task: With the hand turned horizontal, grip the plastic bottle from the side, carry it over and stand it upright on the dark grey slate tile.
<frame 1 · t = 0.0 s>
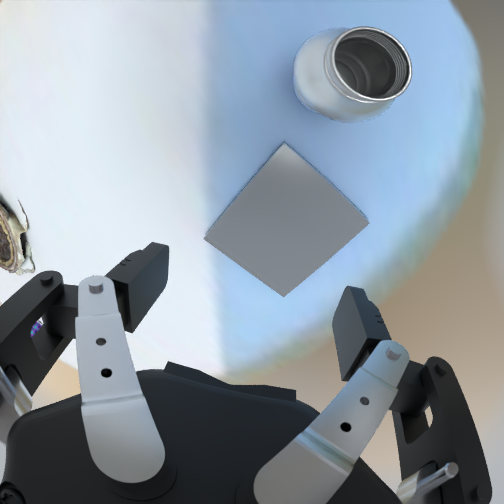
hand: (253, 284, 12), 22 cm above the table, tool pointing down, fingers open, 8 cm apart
plastic bottle: (323, 86, 25), on the table
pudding: (41, 328, 64), on the table
pie: (5, 225, 44), on the table
slate tile: (285, 225, 35), on the table
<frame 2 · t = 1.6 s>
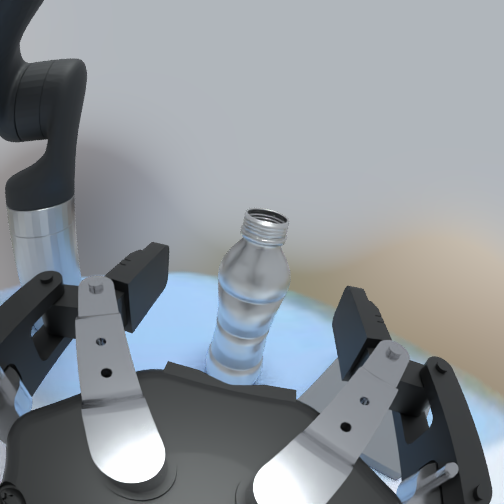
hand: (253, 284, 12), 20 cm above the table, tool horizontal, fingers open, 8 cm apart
plastic bottle: (230, 377, 30), on the table
slate tile: (367, 412, 27), on the table
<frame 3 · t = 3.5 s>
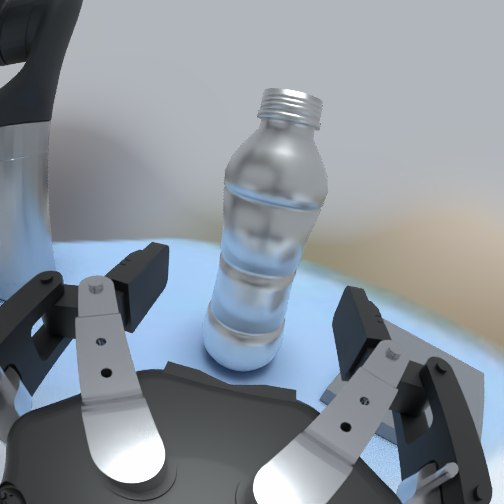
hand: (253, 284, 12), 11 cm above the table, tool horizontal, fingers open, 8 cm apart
plastic bottle: (237, 354, 22), on the table
slate tile: (418, 393, 19), on the table
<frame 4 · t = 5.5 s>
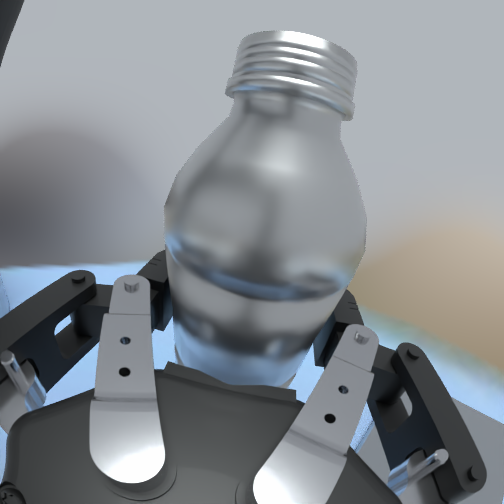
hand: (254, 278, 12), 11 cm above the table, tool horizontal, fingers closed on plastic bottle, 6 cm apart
plastic bottle: (217, 437, 15), on the table, touching gripper
slate tile: (440, 466, 12), on the table
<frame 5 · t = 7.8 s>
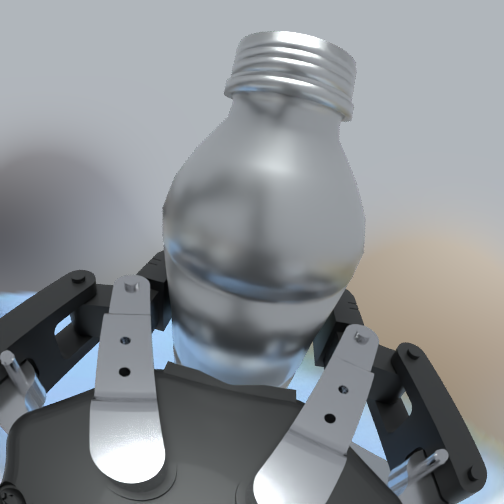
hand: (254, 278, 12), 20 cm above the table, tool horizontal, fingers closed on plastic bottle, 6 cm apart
plastic bottle: (216, 437, 15), point 9 cm above the table, touching gripper
slate tile: (299, 486, 18), on the table
when the fingers open (14 cm above the table, at t = 10.0 s): plastic bottle drops 1 cm, resting on slate tile.
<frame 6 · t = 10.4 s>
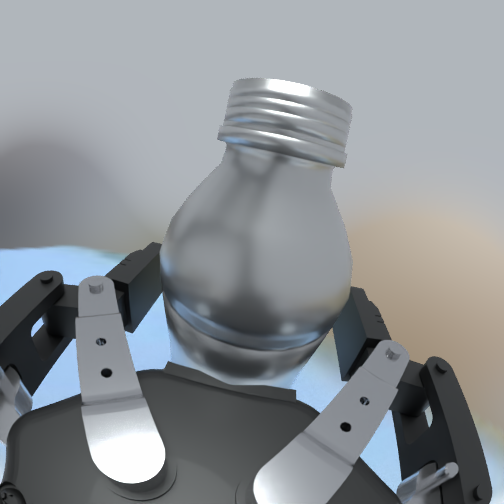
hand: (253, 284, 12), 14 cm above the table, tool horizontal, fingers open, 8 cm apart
plastic bottle: (212, 446, 15), point 1 cm above the table, touching slate tile
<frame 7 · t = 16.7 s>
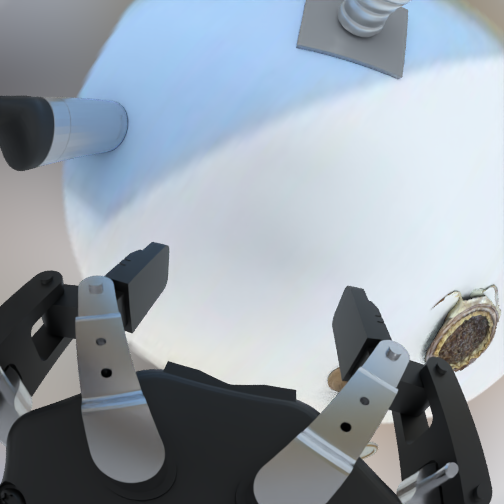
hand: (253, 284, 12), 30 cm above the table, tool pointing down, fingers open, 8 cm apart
plastic bottle: (356, 23, 26), point 1 cm above the table, touching slate tile
candle holder: (346, 376, 54), on the table
pie: (457, 332, 47), on the table
slate tile: (355, 25, 28), on the table
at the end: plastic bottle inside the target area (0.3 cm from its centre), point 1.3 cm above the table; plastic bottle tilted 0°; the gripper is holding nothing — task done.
